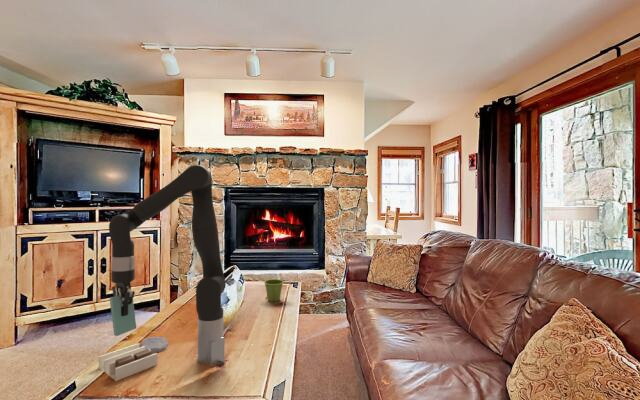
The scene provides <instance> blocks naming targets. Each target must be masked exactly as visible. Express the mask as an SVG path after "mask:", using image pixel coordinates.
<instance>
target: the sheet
mask: <svg viewBox="0 0 640 400" xmlns="http://www.w3.org/2000/svg"><path fill="white" fill-rule="evenodd" d="M124 297H125V296H124ZM109 303H110V312H111V320H112V328H113V335H114V336H116V337H118V336H120V335H124V334H126V333H128V332H130V331H133V330H135V329H137V323H136V314H135V305H134V304H135V303H134V299H133V300H132V303H131V304H129V305H128V315H126V316H121V300H120V299H119V295H118V296H114V295H113V296H111V297H109Z"/></svg>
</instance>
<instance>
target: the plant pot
mask: <svg viewBox="0 0 640 400" xmlns="http://www.w3.org/2000/svg"><path fill="white" fill-rule="evenodd" d="M284 283H285V282H284V280H283V279H282V280H281V279H276V278H274V279H272V278H271V279H267V280H264V283H263V284H264V286H265V290H266V291H265V292H266V297H267V301H268V302H275V303H276V302H278V301H280V300H281V295H282V294H281V293H282V289H283V285H284Z"/></svg>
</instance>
